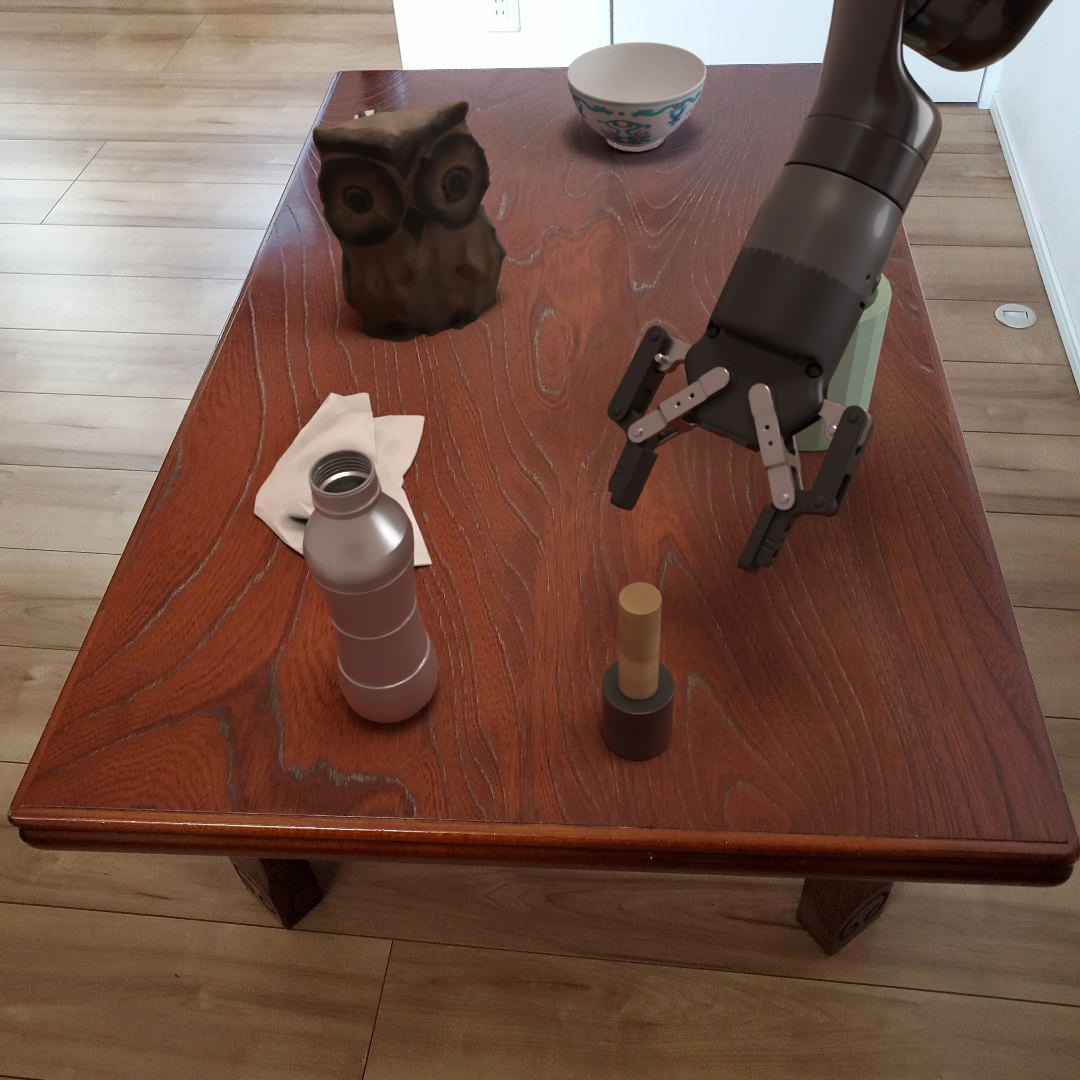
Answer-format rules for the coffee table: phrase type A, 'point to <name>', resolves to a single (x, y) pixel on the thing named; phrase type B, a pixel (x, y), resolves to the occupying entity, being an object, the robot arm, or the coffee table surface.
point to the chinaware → (636, 90)
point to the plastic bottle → (369, 588)
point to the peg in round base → (638, 680)
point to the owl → (410, 219)
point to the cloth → (330, 430)
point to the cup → (854, 366)
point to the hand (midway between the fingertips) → (682, 538)
